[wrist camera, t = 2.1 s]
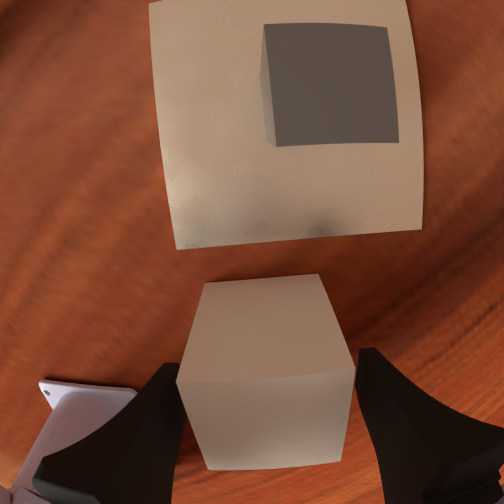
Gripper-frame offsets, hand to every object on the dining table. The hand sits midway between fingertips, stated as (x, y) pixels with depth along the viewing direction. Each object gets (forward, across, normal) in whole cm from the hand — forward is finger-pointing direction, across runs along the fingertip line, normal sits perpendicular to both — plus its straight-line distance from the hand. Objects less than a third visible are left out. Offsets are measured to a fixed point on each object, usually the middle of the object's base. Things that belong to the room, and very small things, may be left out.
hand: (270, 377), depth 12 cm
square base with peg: (+4, -2, -10) cm, 11 cm away
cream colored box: (+4, 0, 0) cm, 4 cm away
